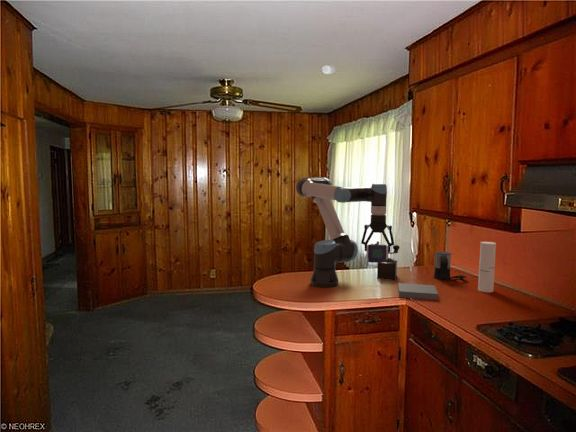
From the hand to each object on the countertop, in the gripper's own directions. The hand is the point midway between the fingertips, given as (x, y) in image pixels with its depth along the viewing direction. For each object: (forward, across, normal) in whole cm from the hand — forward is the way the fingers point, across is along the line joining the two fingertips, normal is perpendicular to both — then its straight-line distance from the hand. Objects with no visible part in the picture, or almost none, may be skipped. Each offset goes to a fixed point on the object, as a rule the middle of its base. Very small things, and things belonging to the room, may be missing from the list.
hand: (377, 258), depth 206 cm
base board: (+17, +20, -1) cm, 26 cm away
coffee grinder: (+18, +6, +32) cm, 37 cm away
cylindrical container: (+17, +55, +15) cm, 60 cm away
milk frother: (+17, +40, +35) cm, 56 cm away
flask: (+2, 0, 0) cm, 2 cm away
